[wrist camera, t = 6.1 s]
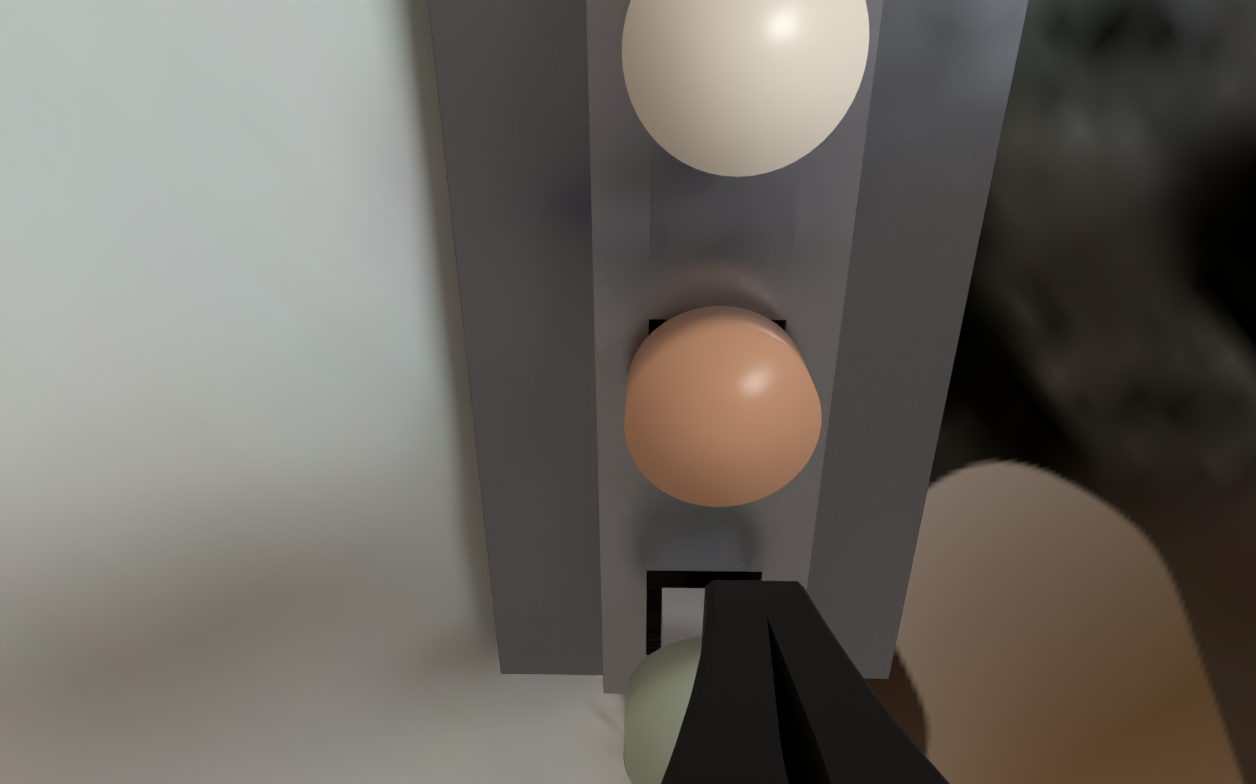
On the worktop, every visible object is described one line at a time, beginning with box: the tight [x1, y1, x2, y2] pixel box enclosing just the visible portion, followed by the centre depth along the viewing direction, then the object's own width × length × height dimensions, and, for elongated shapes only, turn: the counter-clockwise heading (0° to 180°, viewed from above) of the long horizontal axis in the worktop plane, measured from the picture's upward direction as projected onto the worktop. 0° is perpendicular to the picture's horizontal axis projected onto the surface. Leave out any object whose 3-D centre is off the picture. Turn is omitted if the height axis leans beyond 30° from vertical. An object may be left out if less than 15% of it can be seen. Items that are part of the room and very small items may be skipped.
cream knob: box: [622, 0, 869, 177], centre depth 15 cm, size 4×4×4 cm
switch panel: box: [428, 0, 1028, 694], centre depth 19 cm, size 12×22×3 cm, turn 0°
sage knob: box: [624, 588, 705, 784], centre depth 19 cm, size 4×4×4 cm
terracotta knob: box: [624, 306, 822, 507], centre depth 18 cm, size 4×4×4 cm
